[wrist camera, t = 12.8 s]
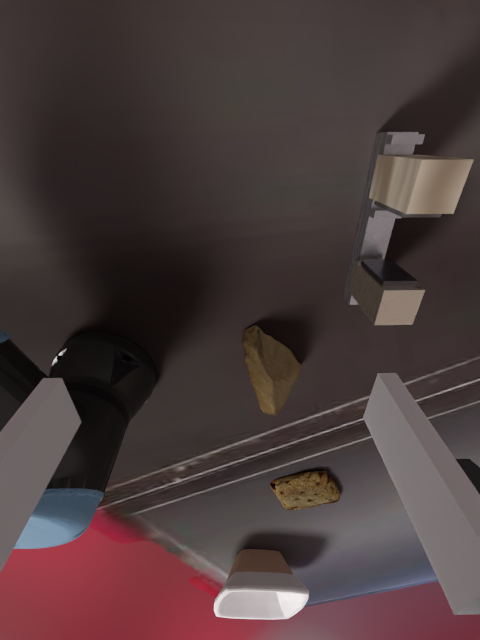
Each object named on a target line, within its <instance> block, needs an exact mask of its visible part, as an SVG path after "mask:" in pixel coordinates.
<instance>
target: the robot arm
mask: <svg viewBox="0 0 480 640" xmlns="http://www.w3.org/2000/svg"><path fill="white" fill-rule="evenodd" d="M9 338H10V335H9V334H8V333H7V332H3V331H1V330H0V572H1V570H2V569H3V567H4V565H5V563H6V561H7V559H8V557H9V555H10V554H11V552H12V550H13V548H14V549H34V548H46V547H53V546H58V545H61V544H65V543H68V542H70V541H72V540H74V539H76V538H78V537H79V536H80V535H81V534H83V533H84V532H85V530H86V529H87V528H88V526H89V525H90V523H91V520H92V518H93V516H94V514H95V511H96V509H97V507H98V504H99V502H100V501H101V500H102V498H103V495H104V492H105V489H106V486H107V483H108V480H109V477H110V474H111V472H112V469H113V466H114V463H115V460H116V457H117V454H118V452H119V449H120V446H121V443H122V440H123V437H124V434H125V432H126V429H127V426H128V424H129V421H130V420H131V419H132V418H133V417H134V416H135V414H136V413H137V412H138V411H139V410H140V408H141V407H142V406H143V405H144V404H145V403H146V402H147V400H148V399H149V397H150V396H151V394H152V391H153V388H154V385H155V382H156V370H155V367H154V364H153V362H152V360H151V359H150V357H149V356H148V355H147V354H146V352H145V351H143V350H142V349H141V348H140V347H139V346H137V345H136V344H134V343H133V342H131V341H129V340H127V339H125V338H123V337H120V336H117V335H113V334H109V333H100V332H93V333H85V334H81V335H78V336H76V337H74V338H72V339H70V340H69V341H68V342H66V343H65V344H64V346H63V347H62V348H61V349H60V351H59V352H58V353H57V354H56V356H55V358H54V360H53V362H52V366H51V370H50V373H49V377H48V376H47V375H46V374H45V373H44V372H43V371H42V370H40V369H39V368H38V367H37V366H36V365H35V364H34V363H33V362H32V361H31V360H30V359H29V358H28V357H27V356H26V355H25V354H24V353H23V352H22V351H21V350H20V349H19V348H18V347H17V346H16V345H15V344H14V343H13V342H12V341H11V340H10V339H9ZM363 418H364V420H365V422H366V425H367V427H368V429H369V431H370V433H371V435H372V438H373V440H374V442H375V444H376V446H377V448H378V451H379V453H380V455H381V457H382V459H383V461H384V463H385V466H386V468H387V470H388V472H389V474H390V476H391V479H392V481H393V483H394V485H395V487H396V489H397V492H398V494H399V496H400V498H401V500H402V502H403V505H404V507H405V509H406V511H407V513H408V515H409V518H410V520H411V522H412V524H413V526H414V528H415V531H416V533H417V535H418V537H419V539H420V541H421V544H422V546H423V548H424V550H425V552H426V554H427V556H428V559H429V561H430V563H431V565H432V567H433V569H434V572H435V574H436V576H437V578H438V580H439V582H440V584H441V587H442V589H443V591H444V593H445V595H446V597H447V600H448V602H449V604H450V606H451V608H452V611H453V613H454V615H457V614H458V615H460V614H480V468H479V467H478V466H477V465H476V464H475V463H474V462H472V461H471V460H470V459H455V458H454V456H453V455H452V454H451V452H450V451H449V449H448V448H447V446H446V445H445V443H444V442H443V440H442V439H441V438H440V436H439V435H438V433H437V432H436V430H435V429H434V427H433V426H432V425H431V423H430V422H429V420H428V419H427V417H426V416H425V414H424V413H423V411H422V410H421V409H420V407H419V406H418V404H417V403H416V401H415V400H414V398H413V397H412V396H411V394H410V393H409V391H408V390H407V388H406V387H405V385H404V384H403V383H402V381H401V380H400V378H399V377H398V375H397V374H396V373H378V374H377V377H376V380H375V383H374V386H373V389H372V392H371V395H370V398H369V401H368V404H367V407H366V410H365V413H364V417H363Z"/></svg>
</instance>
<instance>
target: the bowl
mask: <svg viewBox="0 0 480 640" xmlns="http://www.w3.org/2000/svg"><path fill="white" fill-rule="evenodd" d="M308 598H309V590H308V589H307V588H306V587H305V586H304V585H303V584H302V583H301V582H300V581H299V580H298V579H297V578H296V577H295V575H293V573H292V571H291V570H290V568H289V566H288V565H287V563H286V561H285V559H284V558H283V556H282V554H281V553H280V552H279V551H275V550H264V549H242V550H241V551H240V552H239V553H238V555H237V556H236V558H235V561H234V564H233V566H232V569H231V571H230V574H229V577H228V579H227V582H226V584H225V585H224V587H223V588H222V590H221V591H220V593H219V595H218V596H217V598H216V599H215V603H214V612H215V614H216V616H217V617H224V618H236V619H237V618H238V619H271V620H272V619H288V618H290V617H291V616H293V615H295V614H296V613H297V612H299V611H300V610H301V609H302V608H303V607H304V605H305V604H306V602H307V600H308Z"/></svg>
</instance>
